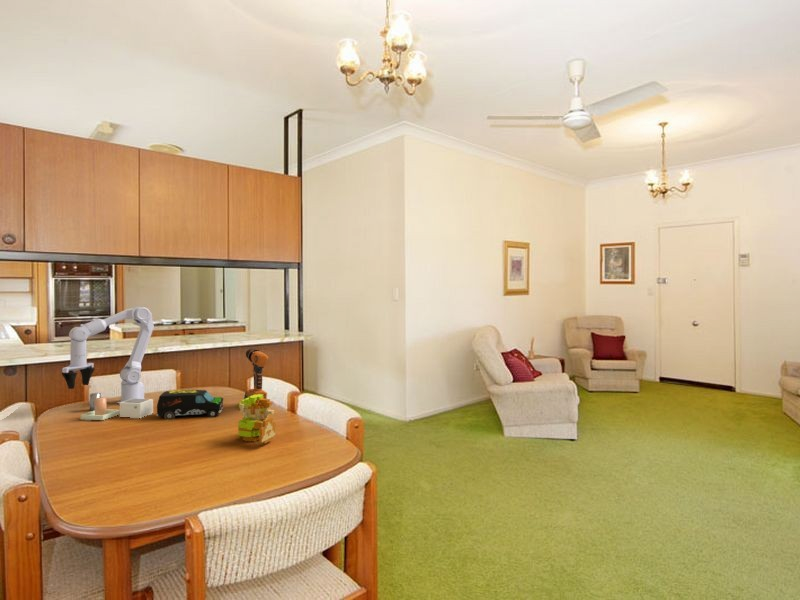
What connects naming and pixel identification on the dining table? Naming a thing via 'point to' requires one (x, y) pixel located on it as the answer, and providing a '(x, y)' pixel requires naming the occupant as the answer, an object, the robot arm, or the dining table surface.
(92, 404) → the grey peg
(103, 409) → the terracotta peg
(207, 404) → the toy van
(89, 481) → the dining table surface
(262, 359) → the power drill
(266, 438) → the toy
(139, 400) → the box
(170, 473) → the dining table surface
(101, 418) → the tray
